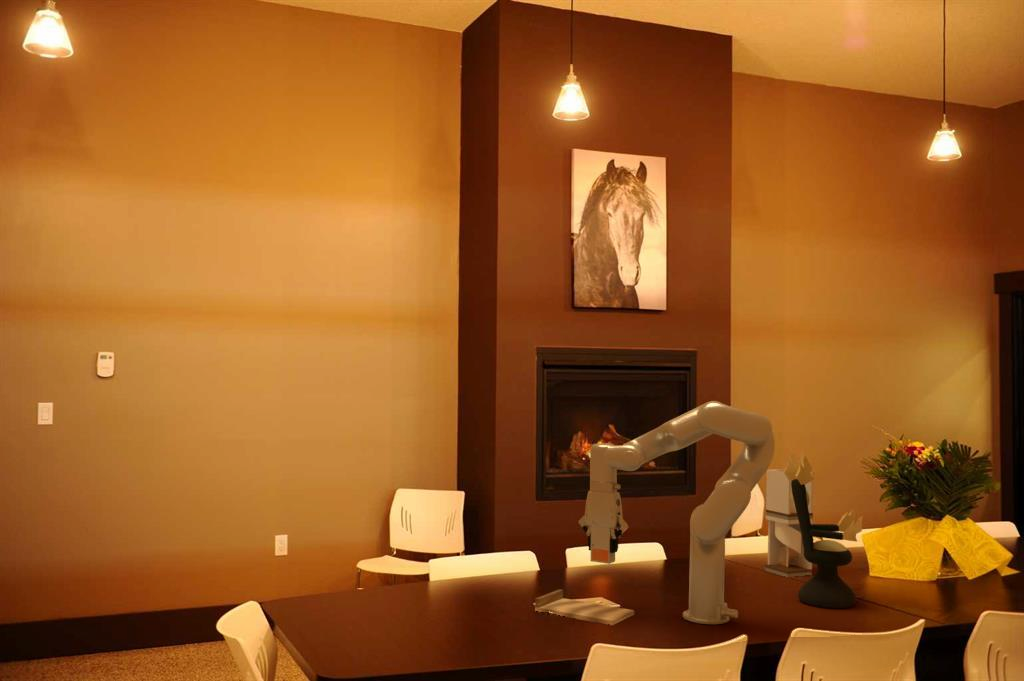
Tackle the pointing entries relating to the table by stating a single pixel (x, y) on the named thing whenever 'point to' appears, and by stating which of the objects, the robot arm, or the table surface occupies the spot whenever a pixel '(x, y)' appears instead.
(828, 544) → the black chair
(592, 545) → the skincare box
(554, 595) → the board
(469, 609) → the table surface
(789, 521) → the white pedestal stand
